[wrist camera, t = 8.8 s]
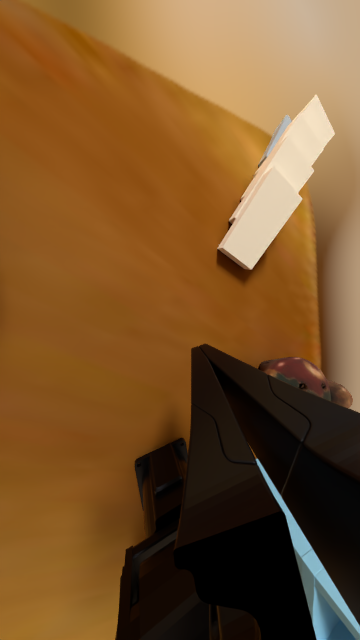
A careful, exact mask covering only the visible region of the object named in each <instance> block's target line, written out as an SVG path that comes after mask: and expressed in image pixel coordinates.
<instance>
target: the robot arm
mask: <svg viewBox="0 0 360 640" xmlns="http://www.w3.org/2000/svg"><path fill="white" fill-rule="evenodd" d="M191 404H192V405H191V429H190V440H189V450H188V454H187V448H186V442H185V440H184V438H180V439H178V440H176V441H174V442H172V443H169V444H167V445H165V446H163V447H161V448H159V449H157V450H155V451H152V452H150V453H148V454H146V455H144V456H142V457H140V458H138V459H136V461H135V471H136V476H137V481H138V486H139V492H140V497H141V502H142V507H143V511H144V523H145V540H143V541H142V542H140V543H139V544H137V545H136V546H134V547H133V546H131V547H129V548H128V549H126V555H125V566H124V567H123V570H122V576H121V578H120V600H119V614H118V625H117V632H116V638H115V640H317V639H316V635H315V631H314V627H313V623H312V619H311V615H310V611H309V607H308V603H307V599H306V595H305V591H304V587H303V583H302V579H301V575H300V571H299V567H298V563H297V559H296V555H295V551H294V547H293V543H292V539H291V535H290V531H289V527H288V523H287V519H286V515H285V513H284V511H283V510H282V508H281V507H280V505H279V503H278V502H277V500H276V498H275V497H274V495H273V493H272V491H271V489H270V487H269V486H268V484H267V482H266V480H265V478H264V476H263V474H262V472H261V470H260V468H259V466H258V465H257V461H256V459H255V457H254V455H253V453H252V451H251V449H250V447H251V448H252V450H253V452H254V453H255V455H256V457H257V458H258V460H259V461H260V463H261V465H262V466H263V468H264V470H265V471H266V473H267V475H268V476H269V478H270V480H271V481H272V483H273V484H274V486H275V488H276V489H277V491H278V493H279V494H280V496H281V497H282V499H283V501H284V503H285V504H286V506H287V508H288V509H289V511H290V513H291V514H292V516H293V518H294V519H295V521H296V522H297V524H298V526H299V527H300V529H301V531H302V532H303V534H304V536H305V537H306V539H307V541H308V542H309V544H310V545H311V547H312V549H313V550H314V552H315V554H316V555H317V557H318V559H319V560H320V562H321V564H322V565H323V567H324V568H325V570H326V572H327V573H328V575H329V577H330V578H331V580H332V582H333V583H334V585H335V587H336V588H337V590H338V591H339V593H340V595H341V596H342V598H343V600H344V601H345V603H346V605H347V606H348V608H349V609H350V611H351V613H352V614H353V616H354V618H355V619H356V621H357V622H358V624H359V626H360V413H358V412H356V411H354V410H351V409H348V408H346V407H344V406H341V405H339V404H336V403H334V402H331V401H329V400H326V399H324V398H321V397H319V396H316V395H314V394H311V393H309V392H307V391H304V390H302V389H299V388H297V387H295V386H292V385H290V384H288V383H286V382H284V381H282V380H279V379H277V378H275V377H273V376H271V375H269V374H268V375H267V373H265V372H263V371H261V370H259V369H257V368H255V367H253V366H251V365H248V364H246V363H244V362H242V361H240V360H238V359H236V358H234V357H232V356H230V355H228V354H226V353H224V352H222V351H220V350H218V349H216V348H214V347H212V346H210V345H208V344H203V345H200V346H199V347H198V346H197V347H194V348H192V349H191ZM182 442H183V443H182ZM181 443H182V444H181ZM248 443H249V444H248ZM249 445H250V446H249ZM138 463H140V464H138Z"/></svg>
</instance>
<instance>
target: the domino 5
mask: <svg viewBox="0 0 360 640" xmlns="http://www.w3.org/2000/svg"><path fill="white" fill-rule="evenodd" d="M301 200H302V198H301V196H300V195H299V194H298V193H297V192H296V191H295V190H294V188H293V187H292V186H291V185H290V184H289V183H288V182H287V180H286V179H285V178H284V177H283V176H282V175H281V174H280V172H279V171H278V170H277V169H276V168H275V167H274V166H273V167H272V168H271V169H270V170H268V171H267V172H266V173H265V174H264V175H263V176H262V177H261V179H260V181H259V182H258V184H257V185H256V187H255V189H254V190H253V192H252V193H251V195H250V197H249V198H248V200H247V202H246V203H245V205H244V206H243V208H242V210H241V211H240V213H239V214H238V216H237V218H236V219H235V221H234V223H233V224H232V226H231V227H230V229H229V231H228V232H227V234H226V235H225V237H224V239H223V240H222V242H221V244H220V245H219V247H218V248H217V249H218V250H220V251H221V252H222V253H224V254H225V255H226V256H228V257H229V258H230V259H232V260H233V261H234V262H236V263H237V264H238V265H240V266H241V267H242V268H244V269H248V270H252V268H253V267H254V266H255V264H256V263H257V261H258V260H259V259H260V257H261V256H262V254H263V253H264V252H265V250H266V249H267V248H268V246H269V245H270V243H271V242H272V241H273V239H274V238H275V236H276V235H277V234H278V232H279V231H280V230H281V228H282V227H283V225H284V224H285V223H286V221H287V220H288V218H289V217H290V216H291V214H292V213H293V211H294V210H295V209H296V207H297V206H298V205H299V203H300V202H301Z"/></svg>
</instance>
